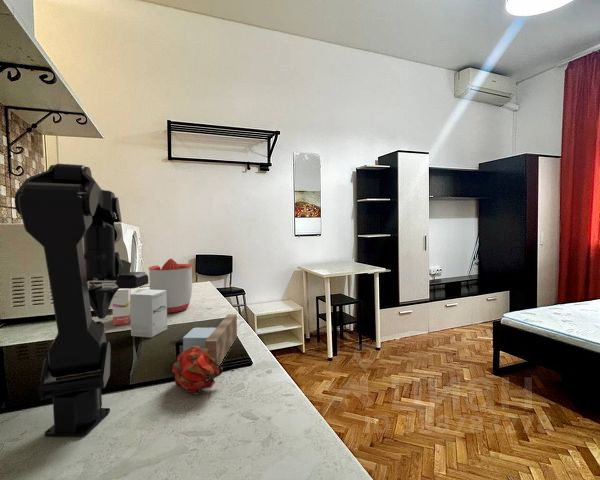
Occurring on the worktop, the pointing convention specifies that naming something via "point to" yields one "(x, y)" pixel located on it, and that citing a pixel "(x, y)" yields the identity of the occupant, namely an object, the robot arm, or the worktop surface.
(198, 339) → the slate block
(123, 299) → the ink cartridge box
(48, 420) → the worktop surface
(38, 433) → the worktop surface
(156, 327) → the supplement box
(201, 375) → the dragon fruit
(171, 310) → the citrus juicer
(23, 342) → the worktop surface
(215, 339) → the walnut board
